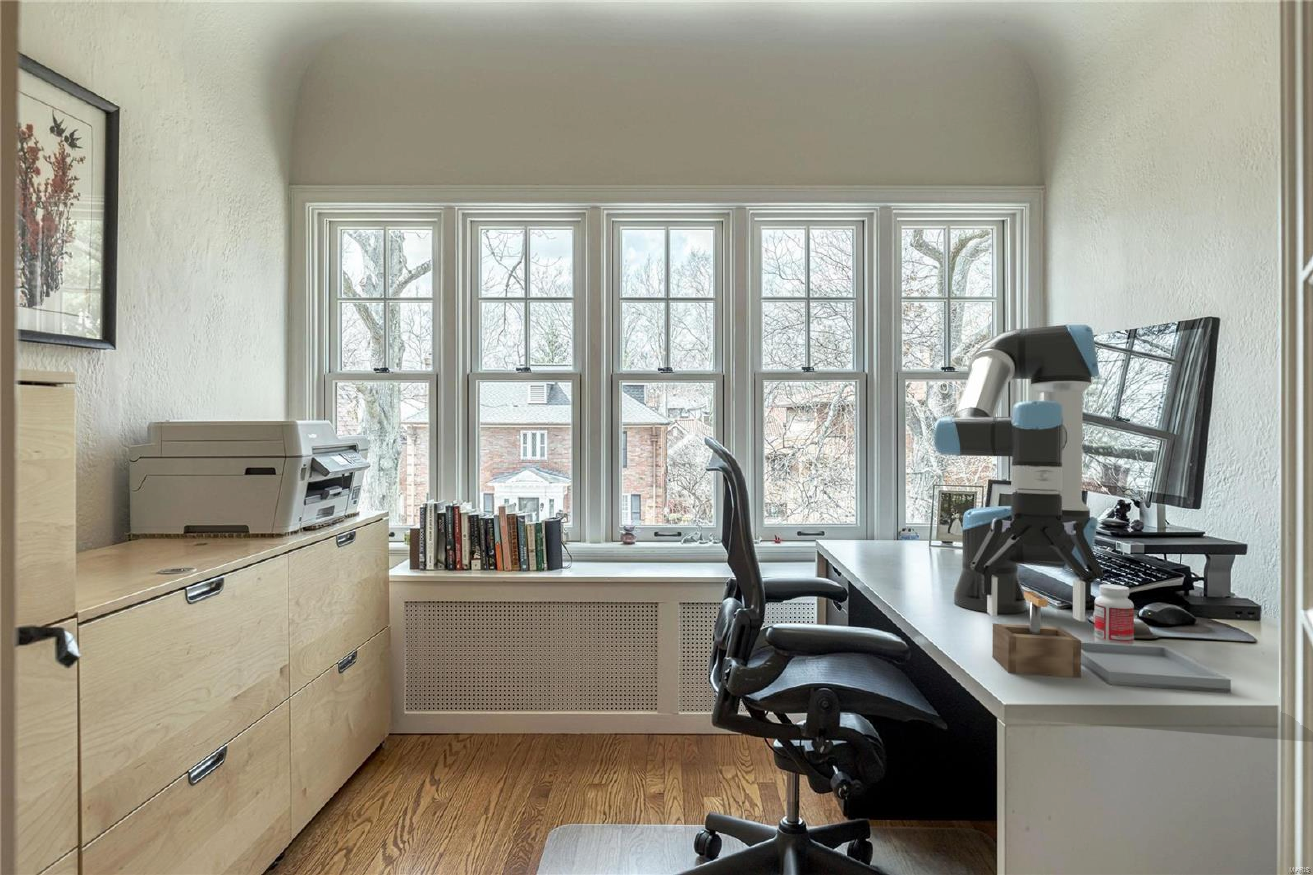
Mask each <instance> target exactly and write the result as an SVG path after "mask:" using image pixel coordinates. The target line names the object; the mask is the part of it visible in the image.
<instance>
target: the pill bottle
mask: <svg viewBox="0 0 1313 875" xmlns="http://www.w3.org/2000/svg"><path fill="white" fill-rule="evenodd" d="M1098 586H1099V588H1098V589H1099V590H1098V592H1099V594H1100V595H1098V596H1096V598H1094V628H1093V629H1094V642H1103V643H1120V644H1135V635H1134V634H1135V630H1134V629H1135V626H1134V625H1135V608H1134V607H1135V605H1134V603H1133V601H1132V600H1131V599H1129V598H1128V597H1129V596H1130V588H1129V587H1128V586H1125V585H1120V584H1119V585H1118V584H1107V583H1106V584H1105V583H1104V584H1100V585H1098Z"/></svg>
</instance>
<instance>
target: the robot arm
mask: <svg viewBox="0 0 1313 875" xmlns="http://www.w3.org/2000/svg"><path fill="white" fill-rule="evenodd" d="M1096 350H1097V348H1096V344H1095V338H1094V332H1093V328H1092V327H1090V326H1089V325H1086V324H1068V323H1067V324H1063V325H1062V324H1060V325H1051V326H1050V325H1049V326H1041V327H1031V328H1029V327H1028V328H1027V327H1026V328H1015V329H1011V330H1006V331H1004V332H1001V333H999V334H997V335H995V336H993V337H991V338H990V339H988V340H987V341H986V342H984V343H983V344H982V345H981V346H979V348H977V350H976V351H975V352H974V353H973V354H972V355H971V358H970V360H969V363H968V366H967V371H968V375H969V376H968V379H967V381H966V383H965V385H964V389H962V393H961V394H960V395H961V396H960V398H959V401H958V402H957V405H956V409H955V411H954V414H953V415H952V416H947V417H945V416H944V417H940V418H938V419H937V420H936V422H935V423H934V424H935V425H934V428H933V441H934V448H935V449H936V450H935V451H937V453H938V454H940V455H945V456H956V457H965V456H966V457H1011V460H1012V461H1011V480H1010V481H1011V482H1010V483H1011V486H1010V487H1011V489H1013V490H1014V491H1012V493H1011V494H1010V496H1011V497H1010V498H1011V499H1010V500H1011V501H1010V502H1011V503H1010V505H1002V506H985V507H984V506H983V507H977V508H970V509H968V510H966V511H965V512H964V514H963V517H962V528H961V531H962V563H961V564H962V569H961V574H960V576H959V578H958V581H957V583H956V586H955V589H954V594H953V603H954V604H955V605H957V606H959V607H961V608H965V609H969V610H973V611H976V612H977V611H978V612H984V613H988V614H989V615H990V616H991V617H998V614H1020V613H1024V612H1025V611H1027V599H1025V598H1024V590H1023V588H1022V587H1023V586H1022V584H1021V581H1020V578H1019V565H1026V566H1034V567H1035V566H1036V567H1045V568H1055V569H1062V570H1072V571H1073V573H1074V574H1075V575H1076V576H1077V578H1073V579H1072V618H1073V619H1075V620H1077V621H1079V622H1086V601H1089V602H1090V600H1091V598H1092V583H1094V582H1095V580H1097V579H1103V578H1104V577H1105V573H1104V571H1103V569H1102V567H1101V564H1100V563H1099V561H1098V559H1097V558H1096V556H1095V555H1096V554H1094V546H1095V541H1096V534H1097V527H1098V523H1099V522H1098V518H1096V517H1094V516H1091V508H1090V507H1088V506H1087V505H1086V504H1085V503H1084V501H1083V422H1084V421H1083V418H1084V416H1083V414H1084V413H1083V410H1084V409H1083V408H1084V407H1083V406H1084V405H1083V404H1084V401H1083V400H1084V392H1085V391H1086V390H1087V389H1089V388H1090V387H1091V386H1092V378H1095V377H1098V376H1099V375H1100V371H1099V370H1100V369H1099V363H1098V357H1097V351H1096ZM1011 380H1030V387H1031V388H1032V389H1033V390H1034V391H1035V392H1036V393H1037V394H1038V395H1037V400H1026V401H1019V402H1016V403H1015V404H1014V405H1013V406H1012V416H997V414H998V411H999V406H1000V404H1001V400H1002V397H1003V394H1004V390H1005V387H1006V385H1007V384H1008V383H1010V381H1011Z"/></svg>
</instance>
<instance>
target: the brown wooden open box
mask: <svg viewBox="0 0 1313 875" xmlns="http://www.w3.org/2000/svg"><path fill="white" fill-rule="evenodd" d="M1081 641H1082V640H1081V639H1080V638H1078V637H1076V636H1075V635H1073V634H1072V633H1070V632H1069V631H1067V630H1066V629H1064V628H1062V627H1060V626H1046V625H1041V629H1040V635H1030V624H1029V625H1025V624H1009V623H1006V624H1005V623H993V622H992V651H991V652H992V654H991V656H992V658H993V659H994V660H995V662H997V663H998V664H999V665H1000V666H1001V667H1002V668H1003V669H1004V670H1005V671H1006V672H1007V673H1008V674H1009V673H1010V674H1023V675H1024V674H1025V675H1036V674H1037V675H1038V674H1039V676H1053V677H1055V676H1056V677H1066V678H1068V677H1069V678H1082V665H1081Z"/></svg>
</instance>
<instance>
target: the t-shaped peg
mask: <svg viewBox="0 0 1313 875" xmlns="http://www.w3.org/2000/svg"><path fill="white" fill-rule="evenodd" d="M1023 592H1024V598H1025V599H1026V601H1029V625H1030V635H1040V629H1041V626H1042V625H1041V617H1042V616H1041V612H1042V610H1041V609H1042V608H1045V607H1046V608H1048V599H1047V598H1045V597H1043V596H1042V595H1041V594H1038V593H1037V592H1034V591H1033V590H1023Z"/></svg>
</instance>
